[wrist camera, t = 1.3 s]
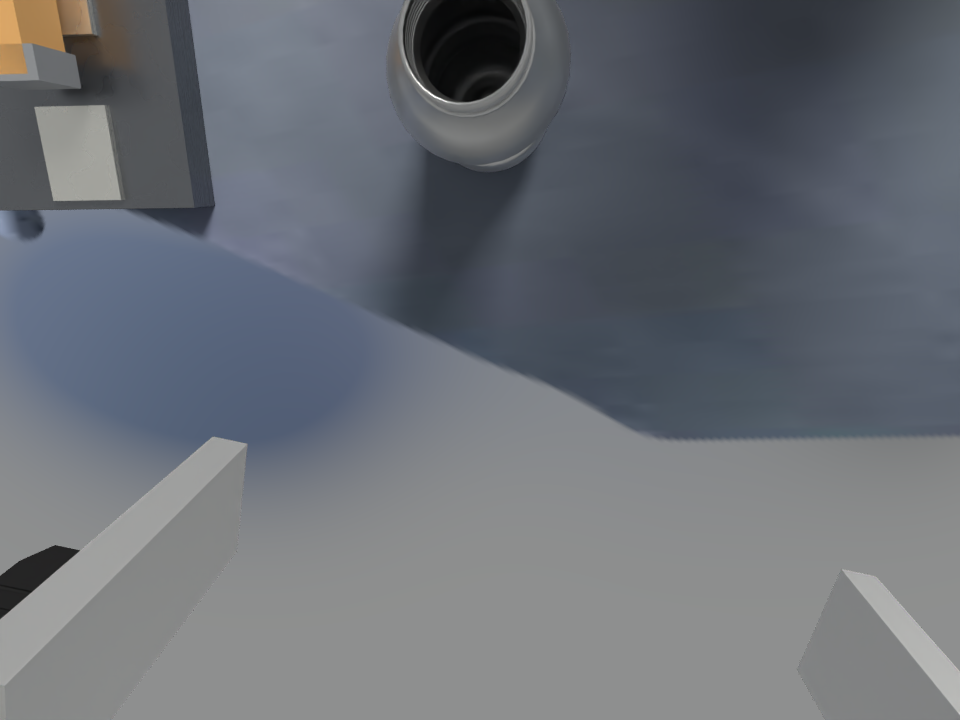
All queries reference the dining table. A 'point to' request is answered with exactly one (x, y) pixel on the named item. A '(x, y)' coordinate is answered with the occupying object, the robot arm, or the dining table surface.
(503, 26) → the plastic bottle
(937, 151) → the dining table surface
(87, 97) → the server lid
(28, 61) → the swing arm
